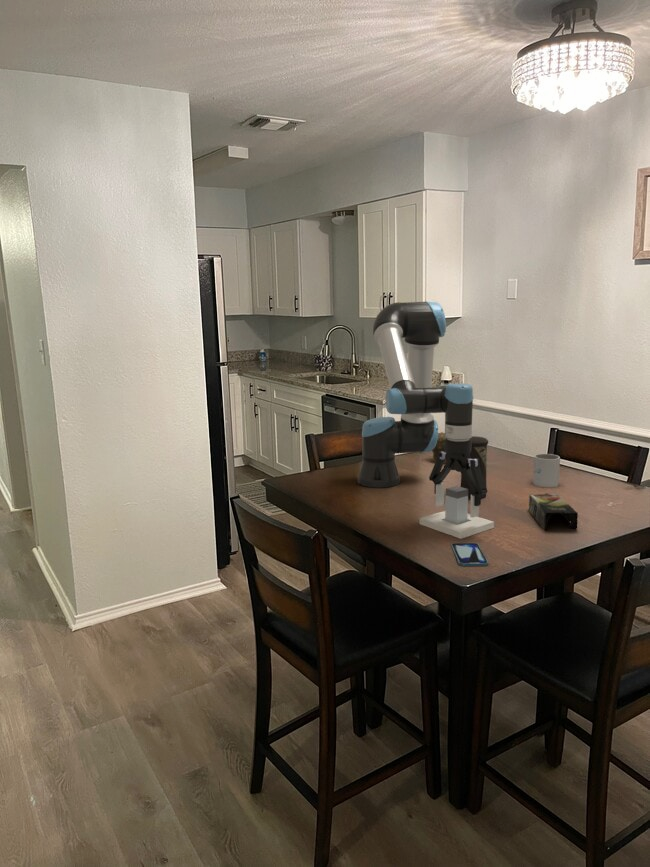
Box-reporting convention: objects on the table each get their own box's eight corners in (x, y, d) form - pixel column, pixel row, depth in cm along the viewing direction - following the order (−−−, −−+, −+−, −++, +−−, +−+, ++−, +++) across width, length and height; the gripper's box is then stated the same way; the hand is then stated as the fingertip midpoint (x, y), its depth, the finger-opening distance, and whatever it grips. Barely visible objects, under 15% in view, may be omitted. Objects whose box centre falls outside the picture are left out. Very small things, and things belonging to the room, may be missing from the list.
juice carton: (525, 509, 206) (526, 490, 205) (557, 509, 206) (558, 491, 204) (543, 532, 186) (544, 511, 185) (578, 532, 186) (580, 512, 185)
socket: (419, 524, 194) (419, 518, 194) (452, 514, 202) (452, 508, 202) (460, 538, 181) (461, 532, 181) (493, 527, 190) (494, 521, 189)
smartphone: (477, 542, 177) (489, 563, 163) (477, 546, 178) (489, 567, 163) (450, 542, 178) (459, 563, 163) (450, 546, 178) (459, 567, 163)
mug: (560, 487, 228) (561, 459, 226) (534, 487, 230) (535, 459, 228) (555, 478, 240) (556, 451, 238) (530, 477, 241) (531, 451, 239)
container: (487, 499, 216) (489, 440, 212) (459, 498, 218) (460, 439, 214) (486, 492, 224) (488, 434, 220) (459, 491, 226) (460, 434, 222)
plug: (445, 524, 192) (445, 488, 190) (455, 521, 195) (456, 485, 193) (456, 528, 189) (457, 491, 186) (467, 525, 191) (468, 489, 189)
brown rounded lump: (460, 459, 271) (461, 430, 268) (454, 465, 261) (455, 436, 259) (435, 457, 275) (435, 429, 273) (427, 463, 265) (428, 434, 263)
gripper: (417, 433, 194) (417, 503, 198) (483, 447, 175) (481, 524, 179) (435, 430, 199) (434, 498, 203) (502, 443, 179) (499, 518, 183)
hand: (456, 510), depth 191 cm, fingers open, 13 cm apart
